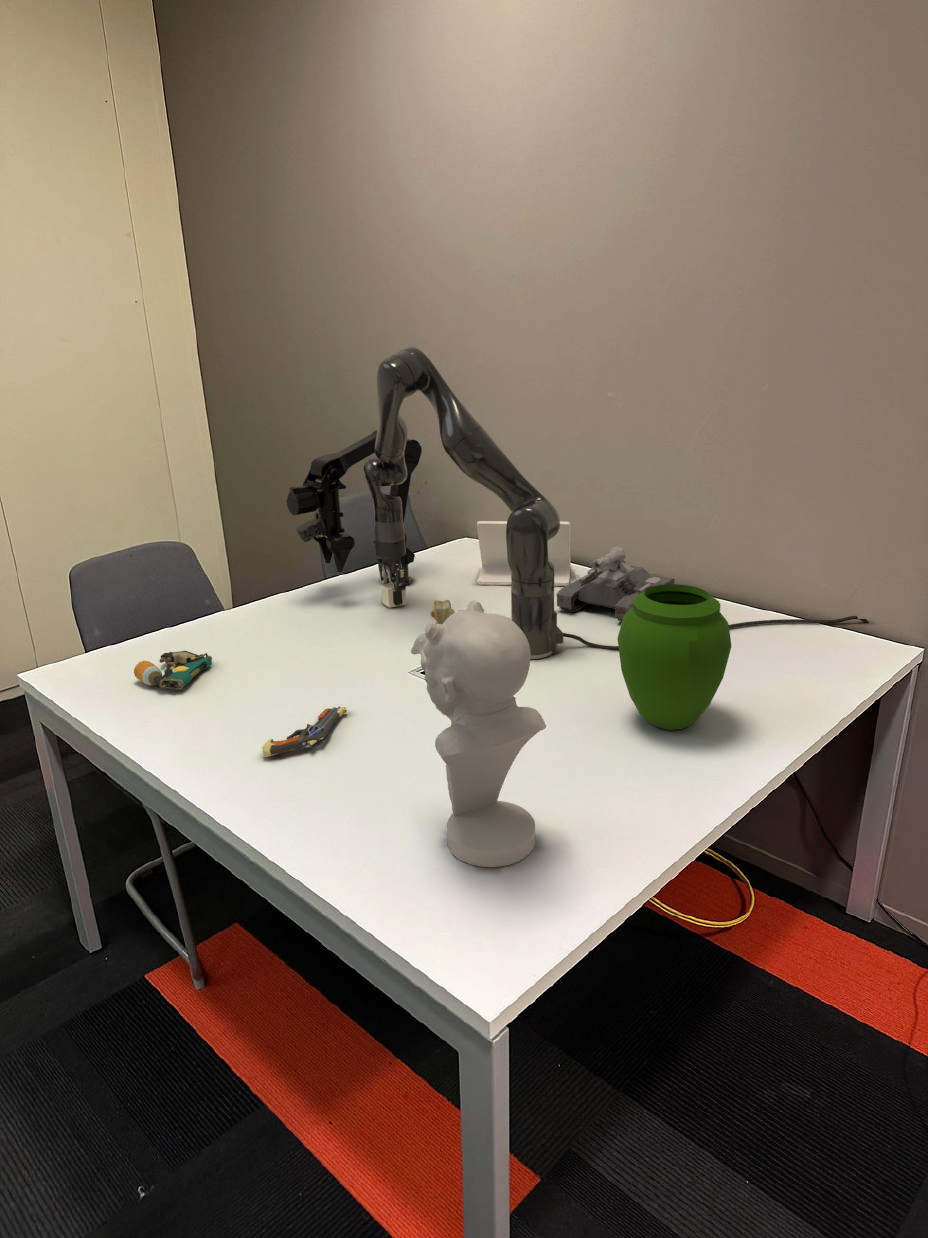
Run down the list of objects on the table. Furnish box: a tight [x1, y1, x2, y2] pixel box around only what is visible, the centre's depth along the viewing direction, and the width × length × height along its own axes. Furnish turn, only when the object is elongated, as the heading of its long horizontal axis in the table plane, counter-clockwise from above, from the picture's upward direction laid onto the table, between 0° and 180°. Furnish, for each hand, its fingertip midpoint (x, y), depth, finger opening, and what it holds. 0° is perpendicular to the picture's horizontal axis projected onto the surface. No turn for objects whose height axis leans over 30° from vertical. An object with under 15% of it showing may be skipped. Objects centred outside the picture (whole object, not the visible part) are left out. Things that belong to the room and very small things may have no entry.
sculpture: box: [430, 599, 456, 624], centre depth 177 cm, size 6×7×15 cm
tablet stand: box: [476, 520, 572, 587], centre depth 236 cm, size 18×25×17 cm
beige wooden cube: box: [380, 583, 407, 609], centre depth 218 cm, size 5×5×5 cm
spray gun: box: [133, 650, 213, 690], centre depth 180 cm, size 4×17×15 cm
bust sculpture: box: [410, 599, 547, 868], centre depth 121 cm, size 16×24×35 cm
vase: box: [616, 583, 732, 731], centre depth 151 cm, size 20×20×24 cm
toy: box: [556, 546, 676, 622], centre depth 212 cm, size 25×20×15 cm
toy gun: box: [261, 705, 348, 758], centre depth 154 cm, size 3×19×10 cm
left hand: (333, 567), depth 221 cm, fingers open, 9 cm apart
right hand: (394, 601), depth 219 cm, fingers closed on beige wooden cube, 4 cm apart
